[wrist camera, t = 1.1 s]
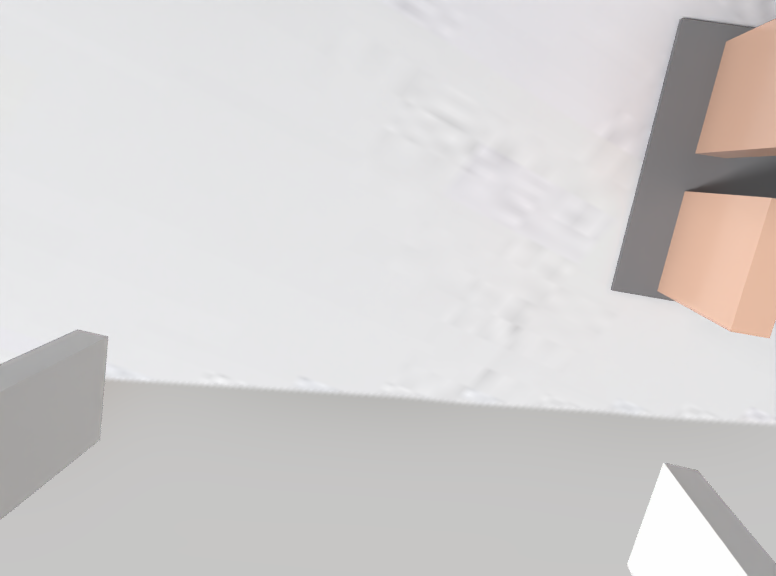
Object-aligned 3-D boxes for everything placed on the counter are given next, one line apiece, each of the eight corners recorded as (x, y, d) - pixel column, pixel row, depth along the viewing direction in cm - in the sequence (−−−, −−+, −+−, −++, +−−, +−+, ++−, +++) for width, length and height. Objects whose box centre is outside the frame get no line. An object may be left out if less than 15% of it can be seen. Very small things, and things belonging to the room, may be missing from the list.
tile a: (726, 41, 35) (836, -10, 25) (760, 46, 34) (885, -4, 25) (695, 153, 36) (787, 146, 26) (728, 158, 36) (833, 153, 26)
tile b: (684, 191, 37) (771, 198, 27) (717, 196, 37) (816, 205, 27) (657, 290, 38) (730, 331, 28) (688, 296, 38) (772, 338, 28)
